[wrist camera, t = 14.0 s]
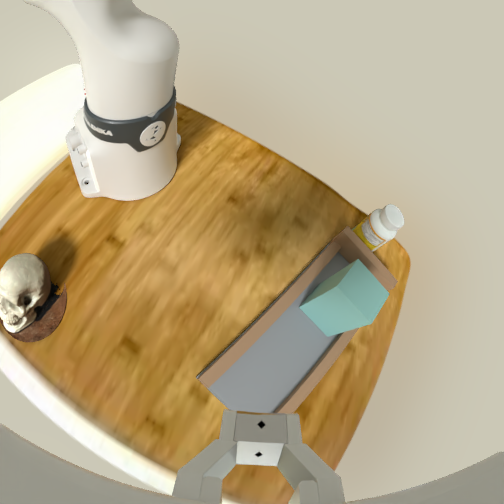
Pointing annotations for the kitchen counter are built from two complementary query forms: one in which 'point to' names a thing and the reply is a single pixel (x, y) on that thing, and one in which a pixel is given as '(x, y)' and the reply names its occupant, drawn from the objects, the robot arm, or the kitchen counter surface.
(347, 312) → the block
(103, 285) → the kitchen counter surface
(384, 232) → the supplement bottle
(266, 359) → the chute
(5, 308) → the skull
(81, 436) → the kitchen counter surface
